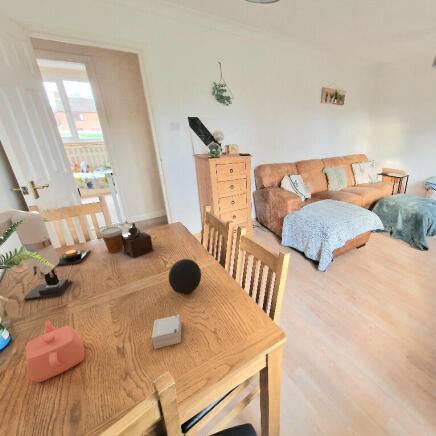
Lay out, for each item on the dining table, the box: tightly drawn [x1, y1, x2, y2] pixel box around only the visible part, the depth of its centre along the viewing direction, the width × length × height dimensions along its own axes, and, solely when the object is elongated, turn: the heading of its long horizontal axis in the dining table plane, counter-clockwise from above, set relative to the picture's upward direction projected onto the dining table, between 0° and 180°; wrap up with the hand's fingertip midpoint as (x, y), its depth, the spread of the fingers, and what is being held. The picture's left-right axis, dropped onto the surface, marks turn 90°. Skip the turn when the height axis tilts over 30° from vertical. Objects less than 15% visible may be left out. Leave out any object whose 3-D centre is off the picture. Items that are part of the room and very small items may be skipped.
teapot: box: [25, 319, 85, 383], centre depth 68 cm, size 12×18×10 cm, turn 46°
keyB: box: [64, 249, 77, 256], centre depth 118 cm, size 4×4×2 cm
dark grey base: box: [23, 278, 72, 302], centre depth 96 cm, size 11×9×3 cm
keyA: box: [45, 281, 61, 288], centre depth 97 cm, size 4×4×2 cm
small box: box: [151, 314, 182, 350], centre depth 79 cm, size 8×8×5 cm
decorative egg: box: [168, 258, 202, 295], centre depth 98 cm, size 12×12×15 cm
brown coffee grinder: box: [121, 222, 154, 259], centre depth 123 cm, size 16×11×18 cm
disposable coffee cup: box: [99, 226, 124, 254], centre depth 126 cm, size 10×10×12 cm
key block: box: [56, 249, 91, 267], centre depth 118 cm, size 10×12×3 cm
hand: (53, 284), depth 96 cm, fingers closed
